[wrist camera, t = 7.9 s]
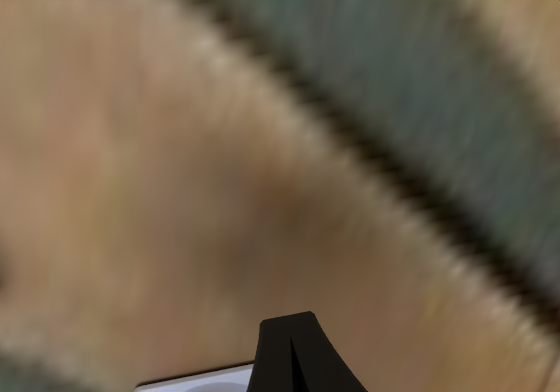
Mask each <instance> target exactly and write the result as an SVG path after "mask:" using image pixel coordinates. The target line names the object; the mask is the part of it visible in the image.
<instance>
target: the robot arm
mask: <svg viewBox="0 0 560 392" xmlns="http://www.w3.org/2000/svg"><path fill="white" fill-rule="evenodd" d="M134 392H368V391H367V390H366V389H365V388H364V387H363V386H362V384H361V383H360V382H359V381H358V379H357V378H356V377H355V376H354V374H353V373H352V372H351V370H350V369H349V368H348V367H347V365H346V364H345V363H344V361H343V360H342V359H341V357H340V356H339V354H338V353H337V352H336V350H335V349H334V347H333V346H332V344H331V343H330V341H329V340H328V338H327V337H326V335H325V333H324V332H323V330H322V328H321V326H320V324H319V322H318V321H317V318H316V316H315V314H314V313H312V312H311V311H307V312H302V313H297V314H292V315H287V316H282V317H276V318H271V319H266V320H263V321H262V322H261V323H260V331H259V340H258V346H257V351H256V356H255V361H254V364H250V365H245V366H240V367H235V368H230V369H225V370H220V371H215V372H210V373H205V374H200V375H195V376H190V377H184V378H179V379H174V380H169V381H164V382H159V383H154V384H149V385H144V386H140V387H137V388H136V389H135V390H134Z"/></svg>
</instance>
